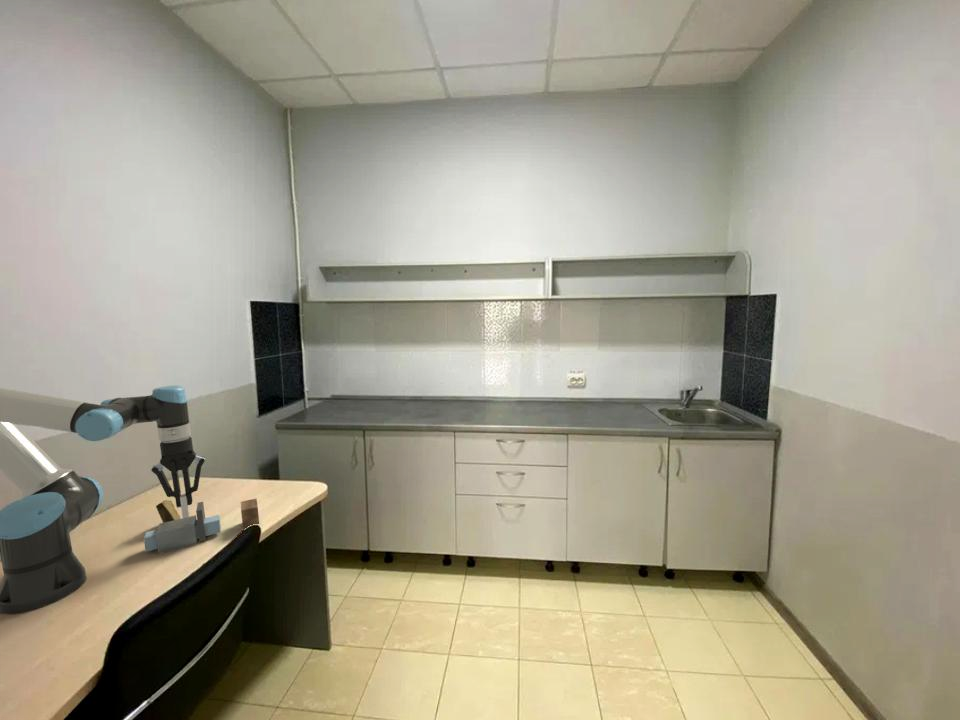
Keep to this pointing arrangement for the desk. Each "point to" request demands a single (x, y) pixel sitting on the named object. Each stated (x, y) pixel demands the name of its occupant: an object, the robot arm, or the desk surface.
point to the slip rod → (201, 526)
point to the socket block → (249, 513)
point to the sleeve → (176, 534)
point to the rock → (167, 511)
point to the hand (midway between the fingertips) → (186, 515)
